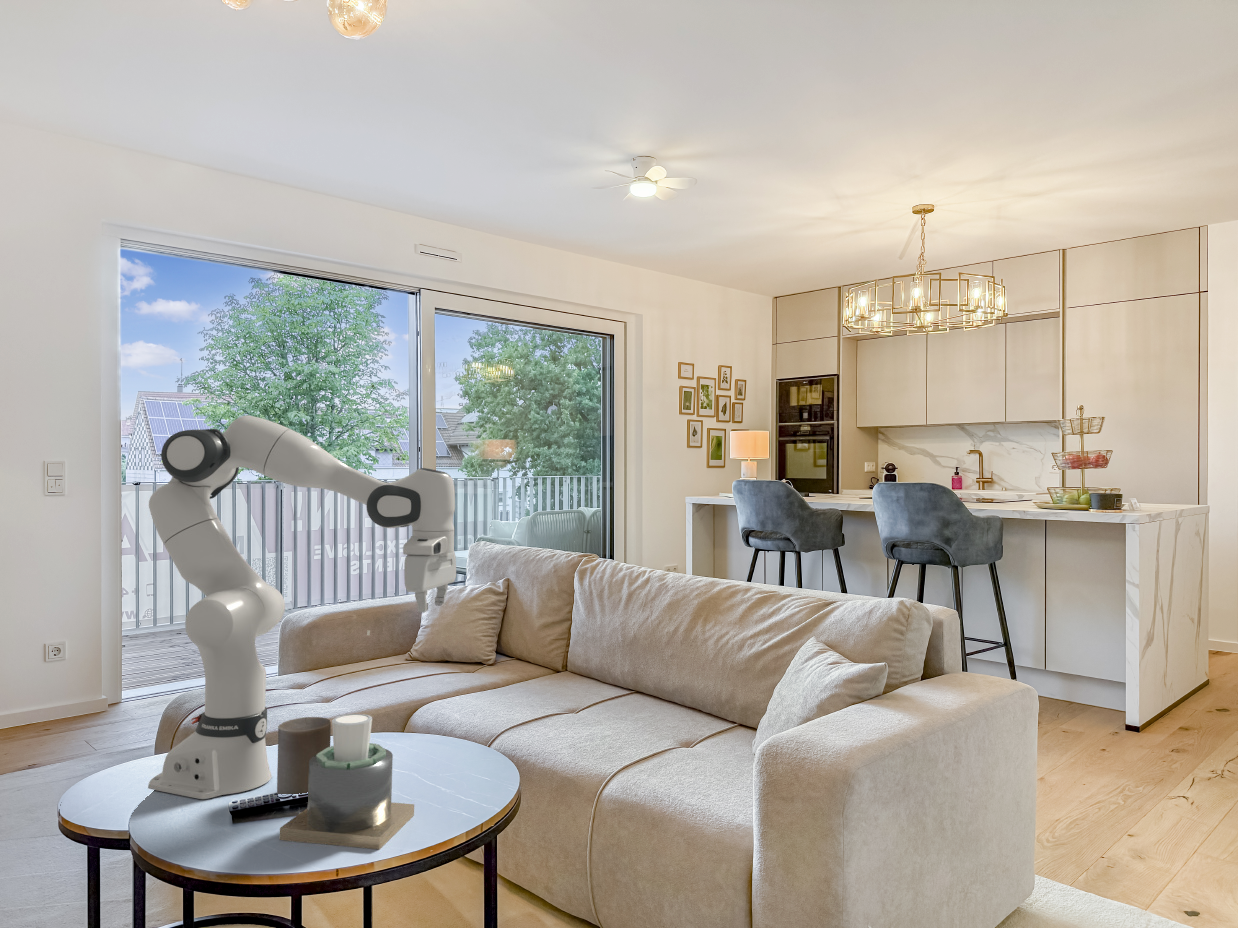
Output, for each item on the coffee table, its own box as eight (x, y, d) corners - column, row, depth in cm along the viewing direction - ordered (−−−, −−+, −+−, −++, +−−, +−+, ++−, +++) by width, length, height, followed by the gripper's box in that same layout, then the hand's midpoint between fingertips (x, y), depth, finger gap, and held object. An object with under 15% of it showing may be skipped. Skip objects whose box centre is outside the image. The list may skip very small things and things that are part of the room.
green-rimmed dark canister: (279, 839, 134) (282, 762, 135) (322, 807, 148) (324, 736, 148) (379, 849, 131) (381, 769, 132) (414, 815, 145) (416, 743, 146)
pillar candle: (340, 788, 157) (341, 712, 158) (308, 806, 148) (310, 725, 149) (298, 783, 160) (299, 708, 161) (264, 801, 151) (266, 721, 151)
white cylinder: (357, 766, 136) (359, 725, 136) (322, 762, 137) (323, 722, 138) (378, 753, 143) (379, 714, 143) (344, 750, 144) (345, 711, 144)
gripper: (437, 540, 181) (435, 601, 181) (399, 546, 161) (397, 614, 161) (463, 541, 180) (462, 602, 180) (428, 547, 160) (427, 616, 160)
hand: (431, 608), depth 170 cm, fingers open, 8 cm apart
